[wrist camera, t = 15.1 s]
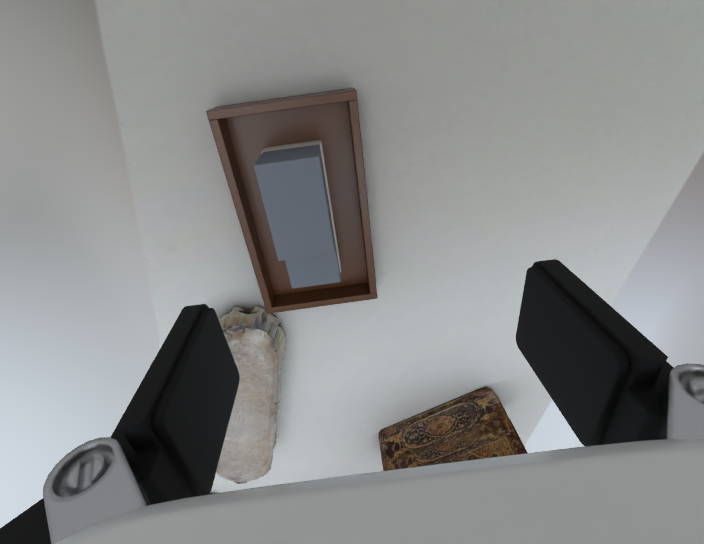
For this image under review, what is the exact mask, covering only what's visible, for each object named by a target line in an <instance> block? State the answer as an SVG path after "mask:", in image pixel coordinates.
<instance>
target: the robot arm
mask: <svg viewBox="0 0 704 544" xmlns="http://www.w3.org/2000/svg"><path fill="white" fill-rule="evenodd" d="M516 342H517V345H518V348H519V349H520V351H521V352H522V354H523V355H524V357H525V358H526V360H527V361H528V363H529V364H530V366H531V367H532V369H533V371H534V372H535V374H536V375H537V377H538V378H539V380H540V381H541V383H542V384H543V386H544V387H545V389H546V390H547V392H548V393H549V395H550V396H551V398H552V399H553V401H554V402H555V404H556V405H557V407H558V408H559V410H560V411H561V413H562V415H563V416H564V418H565V419H566V420H567V422H568V424H569V425H570V427H571V428H572V430H573V431H574V433H575V434H576V436H577V437H578V439H579V440H580V442H581V443H582V444H583V445H584V446H586V447H577V448H569V449H560V450H552V451H544V452H535V453H527V454H518V455H510V456H502V457H493V458H485V459H477V460H469V461H461V462H453V463H445V464H437V465H429V466H421V467H413V468H405V469H397V470H389V471H381V472H373V473H365V474H357V475H349V476H342V477H334V478H327V479H319V480H311V481H304V482H296V483H289V484H281V485H273V486H266V487H258V488H250V489H244V490H237V491H230V492H223V493H217V494H210V495H208V494H209V493H210V491H211V489H212V485H213V481H214V478H215V474H216V470H217V466H218V462H219V459H220V455H221V451H222V447H223V443H224V439H225V436H226V432H227V428H228V424H229V420H230V417H231V413H232V409H233V405H234V401H235V397H236V394H237V390H238V386H239V380H240V377H239V371H238V368H237V366H236V363H235V361H234V358H233V356H232V353H231V350H230V348H229V345H228V343H227V340H226V338H225V335H224V332H223V330H222V327H221V325H220V322H219V320H218V317H217V315H216V312H215V310H214V309H213V308H208V306H207V305H205V304H201V305H193V306H186V307H184V308H183V309H182V311H181V313H180V315H179V317H178V318H177V320H176V322H175V324H174V326H173V327H172V329H171V331H170V333H169V334H168V336H167V338H166V340H165V342H164V343H163V345H162V347H161V349H160V351H159V352H158V354H157V356H156V358H155V360H154V361H153V363H152V364H151V366H150V368H149V370H148V372H147V374H146V375H145V377H144V379H143V381H142V382H141V384H140V386H139V388H138V389H137V391H136V393H135V395H134V397H133V398H132V400H131V402H130V404H129V405H128V407H127V409H126V411H125V413H124V414H123V416H122V418H121V420H120V422H119V423H118V425H117V427H116V429H115V431H114V432H113V434H112V436H111V438H109V437H108V438H97V439H94V440H91V441H88V442H86V443H84V444H82V445H80V446H78V447H77V448H75V449H74V450H72V451H71V452H70V453H68V454H67V455H66V456H65V457H64V458H63V459H62V460H60V461H59V463H57V464H56V466H55V467H54V468H53V470H52V471H51V472H50V474H49V475H48V477H47V479H46V482H45V484H44V489H43V499H41V500H40V501H39V502H37V503H36V504H34V505H33V506H31V507H30V508H29V509H27V510H26V511H24V512H23V513H22V514H20V515H19V516H18V517H16V518H15V519H13V520H12V521H10V522H9V523H8V524H6V525H5V526H3V527H2V528H0V544H704V365H700V364H683V365H678V366H676V367H675V368H673V367H672V366H671V365H670V364H669V363H667V362H666V360H667V358H668V357H667V356H666V355H665V354H664V353H663V352H662V351H661V350H659V349H658V348H657V347H656V346H655V345H654V344H653V343H652V342H650V341H649V340H648V339H647V338H646V337H645V336H643V335H642V334H641V333H640V332H639V331H638V330H637V329H636V328H635V327H633V326H632V325H631V324H630V323H629V322H628V321H627V320H625V319H624V318H623V317H622V316H621V315H620V314H619V313H617V312H616V311H615V310H614V309H613V308H612V307H611V306H610V305H609V304H607V303H606V302H605V301H604V300H603V299H602V298H601V297H599V296H598V295H597V294H596V293H595V292H594V291H593V290H592V289H590V288H589V287H588V286H587V285H586V284H585V283H584V282H582V281H581V280H580V279H579V278H578V277H577V276H576V275H575V274H573V273H572V272H571V271H570V270H569V269H568V268H567V267H565V266H564V265H563V264H562V263H561V262H560V261H558V260H546V261H539V262H535V263H534V264H533V266H532V267H530V268H528V270H527V274H526V280H525V286H524V292H523V298H522V303H521V309H520V315H519V321H518V327H517V333H516Z"/></svg>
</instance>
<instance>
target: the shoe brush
mask: <svg viewBox="0 0 704 544" xmlns="http://www.w3.org/2000/svg"><path fill="white" fill-rule="evenodd" d="M242 311H244V310H243V309H242V308H240V307H233V309H232V311H231V312H230V313H228V314H224V315H223V316H222V317H221V318H220V319H219V322H220V325H221V327H222V330H223V332H224V335H225V338H226V340H227V343H228V345H229V348H230V350H231V353H232V356H233V358H234V361H235V363H236V366H237V368H238V371H239V377H240V380H239V386H238V390H237V394H236V397H235V401H234V405H233V409H232V413H231V417H230V420H229V424H228V428H227V432H226V436H225V439H224V443H223V447H222V451H221V455H220V459H219V462H218V466H217V470H216V472H217V474H219V475H220V476H221V477H223V478H224V479H227V480H230V481H234V482H236V483H237V484H241V483H247V482H249V481H251V480H255V479H259V478H260V477H262V476H264V475H265V474H266V473H267V472H268V471H269V470H270V468H271V463H272V459H273V449H274V447H275V444H276V441H275V440H276V436H275V435H276V433H275V431H276V423H275V419H276V418H275V417H276V412H277V410H278V408H279V401H280V399H279V396H280V390H281V385H280V370H281V363H282V360H283V353H284V350H285V348H284V347H285V342H286V337H285V334H284V331H283V329H282V328H281V327H280V326H278V324H279V322H280V321H281V320H279V319H277V318H275V317H274V316H273V315H272V314H271V313H267V311H266V310H265V309H263V308H261V307H259V306H257V307H254V309H253V311H252V312H251V314H244V313H241V312H242Z"/></svg>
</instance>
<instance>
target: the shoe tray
mask: <svg viewBox="0 0 704 544" xmlns="http://www.w3.org/2000/svg"><path fill="white" fill-rule="evenodd" d="M206 112H207V115H208V119H209V120H210V121H209V122H210V125H211V129H212V132H213V135H214V139H215V142H216V145H217V149H218V152H219V155H220V158H221V162H222V165H223V168H224V172H225V175H226V178H227V182H228V185H229V188H230V192H231V195H232V198H233V202H234V205H235V208H236V212H237V215H238V218H239V221H240V225H241V228H242V231H243V235H244V238H245V241H246V245H247V248H248V251H249V255H250V258H251V261H252V265H253V268H254V271H255V275H256V278H257V281H258V285H259V288H260V291H261V294H262V298H263V301H264V304H265V308H266V311H267V313H275V312H282V311H289V310H296V309H304V308H311V307H318V306H326V305H333V304H340V303H347V302H355V301H362V300H369V299H376V298H377V290H376V280H375V270H374V260H373V251H372V241H371V231H370V221H369V211H368V201H367V191H366V182H365V172H364V162H363V152H362V142H361V132H360V122H359V113H358V103H357V93H356V90H355V89H354V88H348V89H341V90H334V91H326V92H319V93H312V94H305V95H298V96H290V97H283V98H276V99H269V100H262V101H254V102H247V103H240V104H233V105H226V106H219V107H215V108H212V109H210V110H208V111H206ZM316 140H321V142H322V148H323V154H324V161H325V167H326V174H327V180H328V186H329V193H330V199H331V206H332V212H333V218H334V225H335V231H336V237H337V244H338V250H339V257H340V263H341V272H340V276H341V282H337V283H330V284H323V285H315V286H308V287H301V288H294V289H292V287H291V283H290V279H289V275H288V271H287V267H286V263H285V260H281V261H278V258H277V254H276V250H275V246H274V242H273V238H272V235H271V231H270V227H269V223H268V219H267V215H266V211H265V207H264V204H263V200H262V196H261V192H260V188H259V184H258V180H257V176H256V173H255V169H254V165H255V163H256V162H257V160H258V159H259V157H260V156H261V154H262V151H263V149H264V148H266V147H273V146H280V145H287V144H295V143H302V142H309V141H316Z"/></svg>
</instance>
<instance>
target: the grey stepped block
mask: <svg viewBox="0 0 704 544" xmlns="http://www.w3.org/2000/svg"><path fill="white" fill-rule="evenodd" d="M254 169H255V173H256V176H257V180H258V184H259V188H260V192H261V196H262V200H263V204H264V207H265V211H266V215H267V219H268V223H269V227H270V231H271V235H272V238H273V242H274V246H275V250H276V254H277V258H278V261H281V260H285V263H286V267H287V271H288V275H289V279H290V283H291V287H292V289H294V288H301V287H308V286H315V285H323V284H330V283H337V282H341V276H340V272H341V263H340V257H339V250H338V244H337V237H336V231H335V225H334V218H333V212H332V206H331V199H330V193H329V186H328V180H327V174H326V167H325V161H324V154H323V148H322V142H321V140H316V141H309V142H302V143H295V144H287V145H280V146H273V147H266V148H264V149H263V151H262V154H261V156H260V157H259V159H258V160H257V162H256V163H255V165H254Z"/></svg>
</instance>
